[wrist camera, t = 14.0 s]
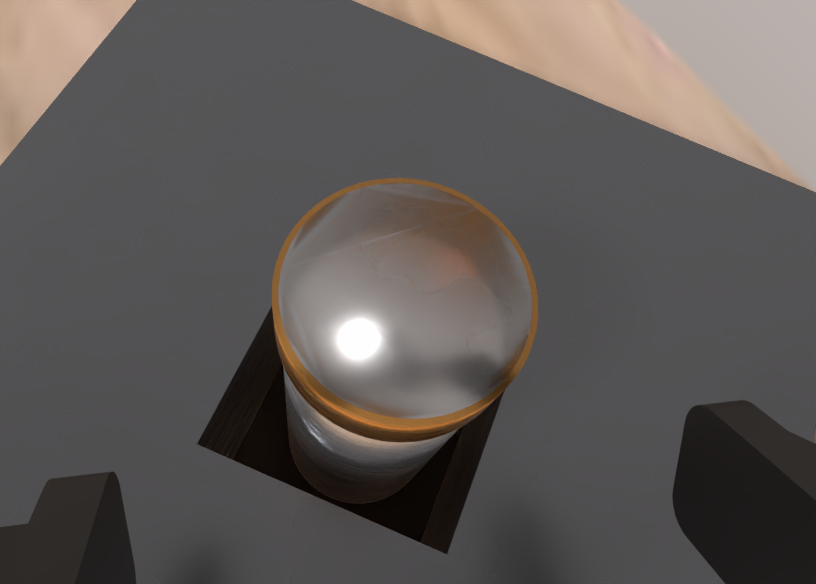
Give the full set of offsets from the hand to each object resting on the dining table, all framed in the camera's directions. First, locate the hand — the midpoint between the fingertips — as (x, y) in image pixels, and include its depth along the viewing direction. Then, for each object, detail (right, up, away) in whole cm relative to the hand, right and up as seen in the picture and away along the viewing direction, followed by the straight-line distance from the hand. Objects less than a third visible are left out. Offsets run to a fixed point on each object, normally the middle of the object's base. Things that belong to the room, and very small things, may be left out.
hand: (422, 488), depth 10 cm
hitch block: (-2, -1, +10) cm, 10 cm away
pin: (-2, -1, +10) cm, 10 cm away
